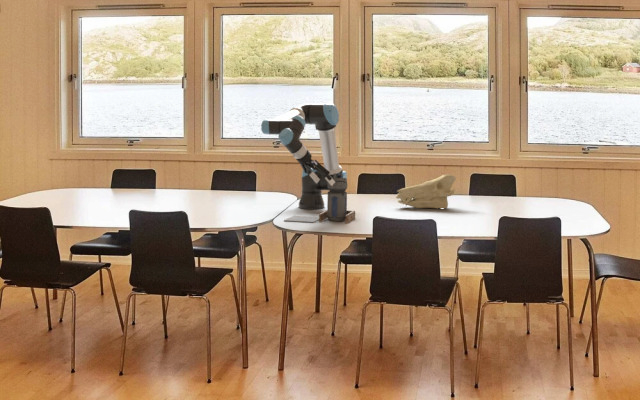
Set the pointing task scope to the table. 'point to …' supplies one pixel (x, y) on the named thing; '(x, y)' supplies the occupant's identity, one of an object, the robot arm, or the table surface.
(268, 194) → the table surface
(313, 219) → the grey rubber mat
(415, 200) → the animal skull
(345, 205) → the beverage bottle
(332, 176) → the robot arm
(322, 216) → the walnut dock
